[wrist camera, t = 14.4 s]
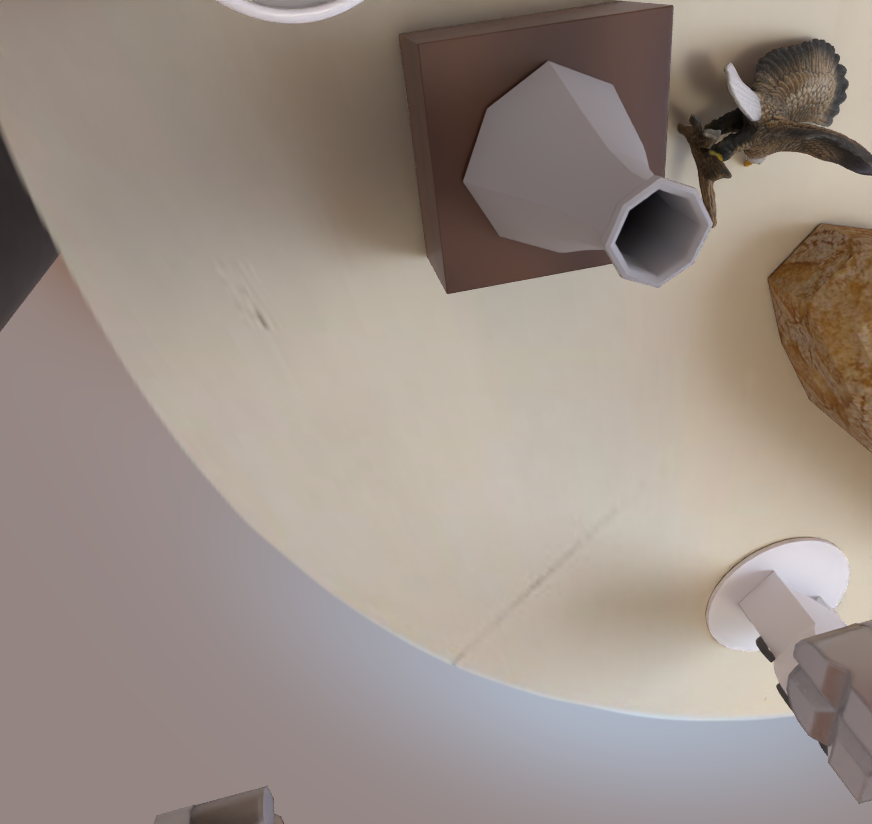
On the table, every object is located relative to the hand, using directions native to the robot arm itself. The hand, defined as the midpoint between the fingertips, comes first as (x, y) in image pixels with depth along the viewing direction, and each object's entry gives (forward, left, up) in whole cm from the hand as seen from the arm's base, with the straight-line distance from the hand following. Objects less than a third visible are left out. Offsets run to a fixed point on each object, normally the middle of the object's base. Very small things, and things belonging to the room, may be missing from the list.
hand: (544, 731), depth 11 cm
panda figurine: (+26, -34, -28) cm, 51 cm away
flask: (+8, +2, -23) cm, 25 cm away
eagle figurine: (+20, +1, -28) cm, 35 cm away
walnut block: (+8, +2, -28) cm, 29 cm away
